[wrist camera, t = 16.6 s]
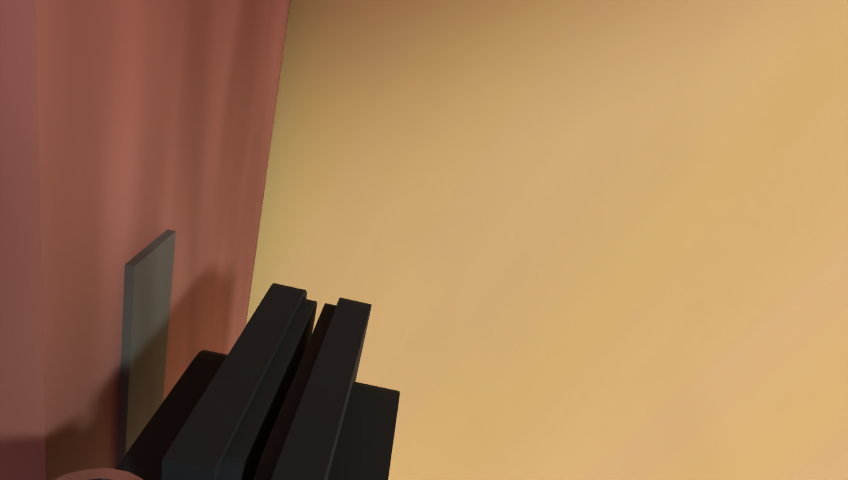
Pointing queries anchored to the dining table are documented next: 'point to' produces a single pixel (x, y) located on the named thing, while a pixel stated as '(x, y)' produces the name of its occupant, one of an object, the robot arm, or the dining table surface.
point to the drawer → (124, 210)
